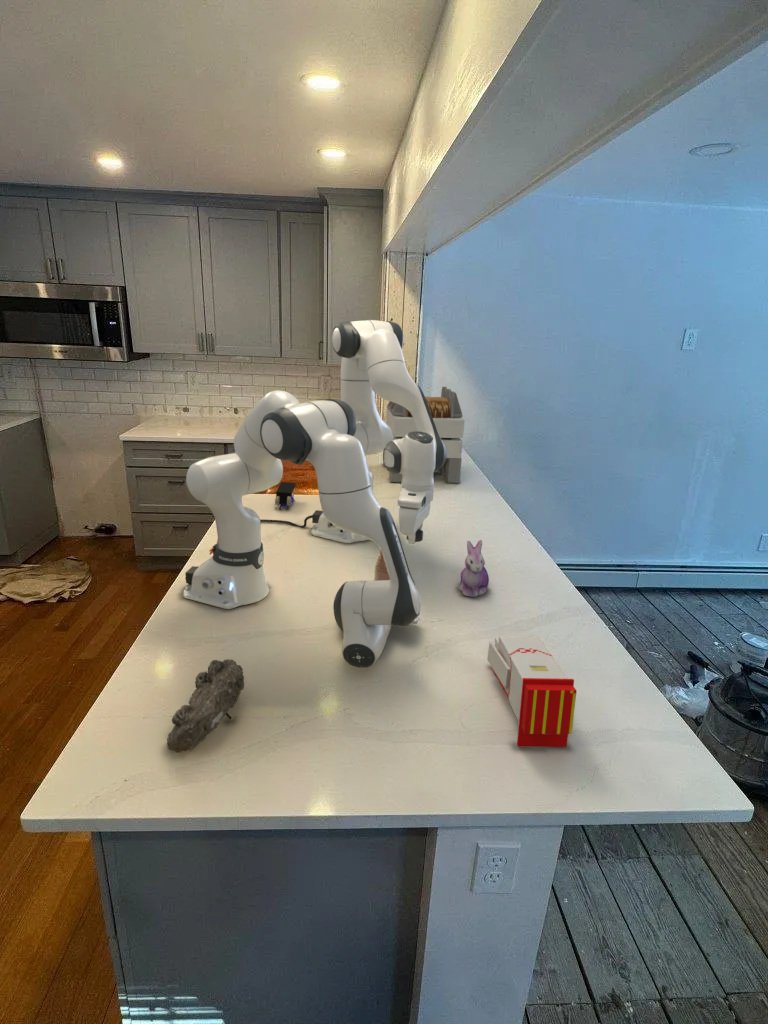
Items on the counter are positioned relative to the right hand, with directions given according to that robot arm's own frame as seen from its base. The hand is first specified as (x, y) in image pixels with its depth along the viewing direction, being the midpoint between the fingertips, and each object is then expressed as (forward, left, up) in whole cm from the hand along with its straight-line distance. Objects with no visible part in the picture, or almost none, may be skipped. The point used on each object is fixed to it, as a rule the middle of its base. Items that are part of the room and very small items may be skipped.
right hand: (414, 539), depth 159 cm
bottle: (-3, -18, -14) cm, 23 cm away
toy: (+33, -42, -14) cm, 56 cm away
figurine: (+17, +3, -14) cm, 23 cm away
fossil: (-23, -67, -14) cm, 72 cm away
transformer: (-24, +116, -14) cm, 120 cm away
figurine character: (-63, +49, -14) cm, 81 cm away
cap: (0, 0, +2) cm, 2 cm away
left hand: (-4, -17, -9) cm, 19 cm away
